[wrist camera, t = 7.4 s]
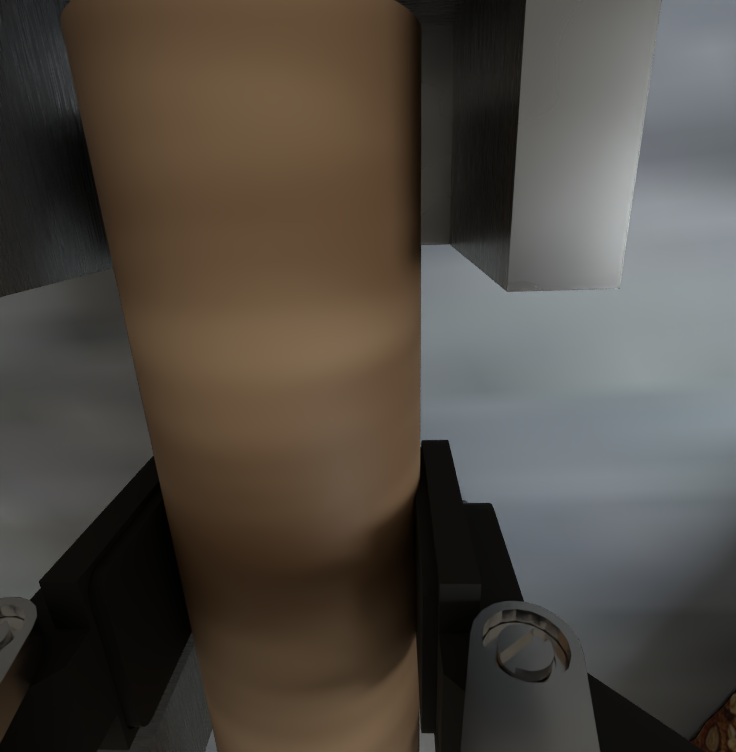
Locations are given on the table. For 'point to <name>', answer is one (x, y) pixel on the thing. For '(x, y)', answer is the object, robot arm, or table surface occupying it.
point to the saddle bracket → (178, 712)
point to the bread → (719, 730)
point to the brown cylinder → (274, 339)
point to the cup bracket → (438, 140)
